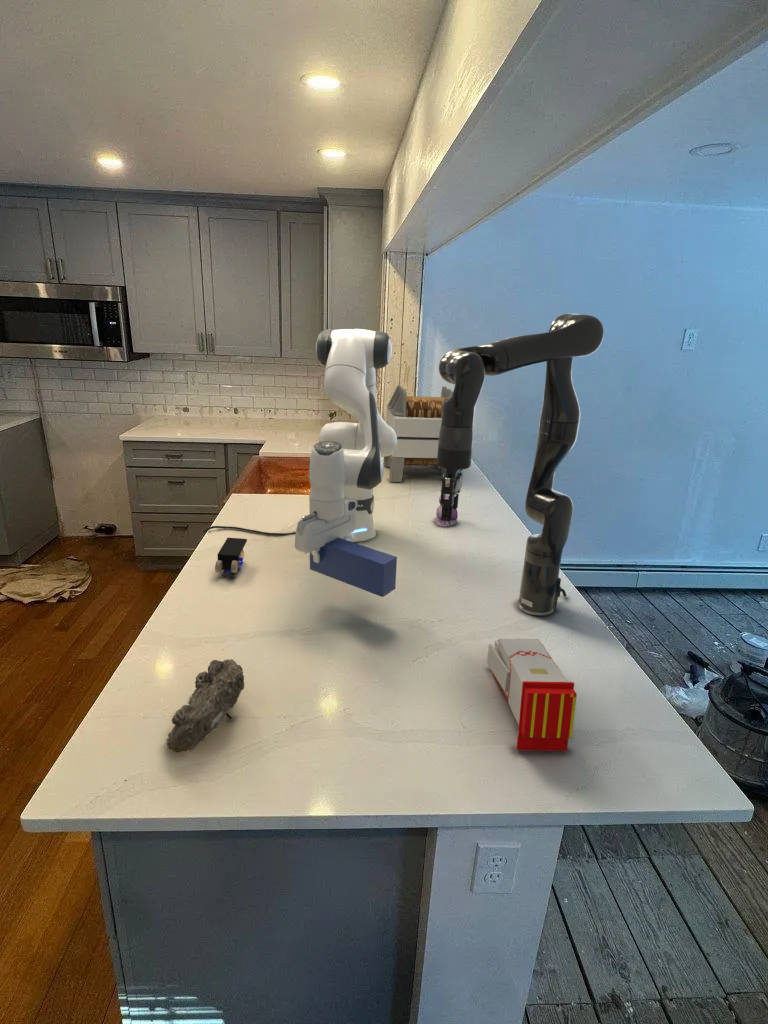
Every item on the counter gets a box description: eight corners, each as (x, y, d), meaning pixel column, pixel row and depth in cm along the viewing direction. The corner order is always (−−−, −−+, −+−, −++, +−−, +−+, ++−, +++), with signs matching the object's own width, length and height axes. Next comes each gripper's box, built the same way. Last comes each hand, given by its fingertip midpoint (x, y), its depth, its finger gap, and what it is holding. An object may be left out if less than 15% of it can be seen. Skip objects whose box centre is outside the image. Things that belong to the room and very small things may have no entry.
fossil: (192, 660, 117) (244, 628, 112) (224, 691, 120) (276, 661, 115) (142, 746, 98) (202, 712, 93) (182, 779, 101) (242, 748, 96)
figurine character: (238, 584, 162) (249, 557, 175) (236, 562, 158) (247, 536, 172) (215, 584, 161) (227, 556, 175) (212, 561, 158) (225, 535, 171)
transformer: (382, 463, 289) (386, 382, 275) (445, 464, 293) (451, 384, 279) (390, 482, 257) (394, 392, 243) (460, 483, 261) (468, 394, 247)
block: (309, 569, 148) (309, 538, 145) (323, 562, 152) (323, 532, 149) (382, 597, 135) (384, 564, 132) (395, 588, 140) (397, 556, 136)
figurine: (442, 528, 206) (446, 489, 201) (428, 519, 214) (431, 481, 209) (464, 525, 210) (468, 486, 205) (449, 516, 218) (452, 479, 213)
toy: (536, 621, 128) (586, 689, 98) (531, 676, 131) (578, 758, 101) (482, 620, 127) (517, 688, 98) (478, 675, 130) (511, 757, 101)
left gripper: (307, 521, 132) (308, 574, 137) (361, 500, 148) (360, 548, 153) (288, 515, 136) (289, 567, 140) (342, 494, 151) (342, 542, 156)
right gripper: (467, 454, 117) (461, 527, 123) (476, 440, 130) (470, 506, 136) (432, 450, 119) (427, 522, 124) (444, 437, 132) (439, 502, 137)
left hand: (326, 557), depth 147 cm, fingers closed on block, 5 cm apart
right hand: (449, 514), depth 130 cm, fingers open, 8 cm apart
